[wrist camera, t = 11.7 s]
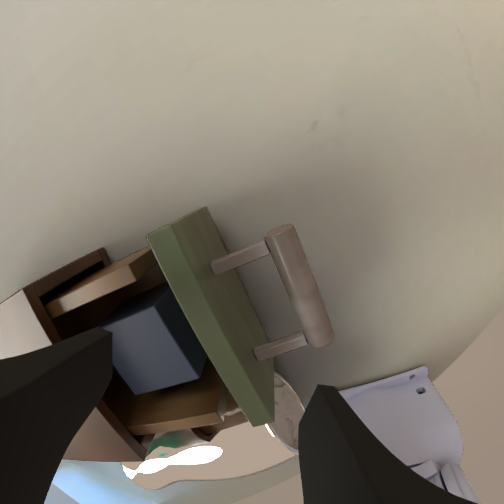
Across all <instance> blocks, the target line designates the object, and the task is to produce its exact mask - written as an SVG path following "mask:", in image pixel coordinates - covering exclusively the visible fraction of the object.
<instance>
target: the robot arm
mask: <svg viewBox="0 0 504 504" xmlns="http://www.w3.org/2000/svg"><path fill="white" fill-rule="evenodd" d="M112 335H113V332H110V331H107V330H104V329H102V328H99V327H96V328H93V329H91V330H88V331H85V332H83V333H80V334H78V335H76V336H73V337H71V338H68V339H66V340H63V341H60V342H58V343H55V344H53V345H50V346H47V347H44V348H41V349H38V350H35V351H32V352H29V353H26V354H22V355H18V356H14V357H9V358H4V359H0V504H44V501H45V499H46V496H47V493H48V490H49V488H50V485H51V482H52V480H53V478H54V475H55V473H56V471H57V469H58V466H59V464H60V462H61V460H62V458H63V456H64V454H65V452H66V450H67V448H68V446H69V444H70V443H71V441H72V440H73V438H74V437H75V435H76V434H77V432H78V431H79V429H80V428H81V427H82V425H83V424H84V422H85V421H86V419H87V418H88V417H89V415H90V414H91V412H92V411H93V410H94V408H95V407H96V405H97V404H98V402H99V401H100V400H101V398H102V396H103V394H104V393H105V391H106V389H107V387H108V385H109V383H110V381H111V379H112V377H113V366H112ZM411 375H413V376H411ZM410 376H411V377H410ZM427 376H428V369H427V368H426V366H422V367H419V368H416V369H413V370H410V371H407V372H404V373H401V374H398V375H395V376H392V377H389V378H385V379H382V380H379V381H375V382H372V383H368V384H364V385H361V386H357V387H353V388H349V389H345V390H341V391H338V390H337V389H336V388H335V387H333V386H326V385H319V384H318V385H317V387H316V389H315V392H314V394H313V396H312V398H311V400H310V402H309V404H308V406H307V408H306V410H305V412H304V414H303V416H302V418H301V420H300V422H299V428H298V453H299V462H300V471H301V479H302V488H303V496H304V504H480V502H479V500H478V498H477V496H476V494H475V492H474V490H473V488H472V486H471V484H470V482H469V480H468V479H467V477H466V475H465V474H464V472H463V470H462V469H461V467H460V464H461V461H462V457H463V439H462V435H461V431H460V428H459V425H458V423H457V421H456V419H455V417H454V415H453V414H452V412H451V411H450V409H449V408H448V406H447V405H446V403H445V402H444V400H443V399H442V397H441V396H440V394H439V393H438V391H437V390H436V388H435V387H434V385H433V384H432V382H431V381H430V380H429V378H428V377H427Z"/></svg>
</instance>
